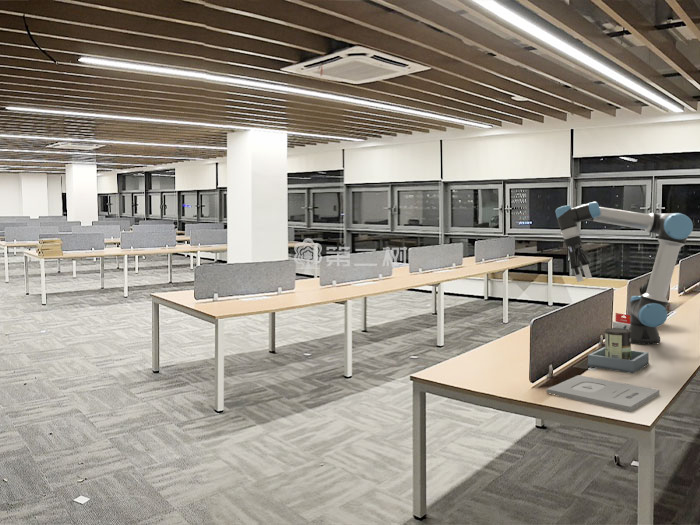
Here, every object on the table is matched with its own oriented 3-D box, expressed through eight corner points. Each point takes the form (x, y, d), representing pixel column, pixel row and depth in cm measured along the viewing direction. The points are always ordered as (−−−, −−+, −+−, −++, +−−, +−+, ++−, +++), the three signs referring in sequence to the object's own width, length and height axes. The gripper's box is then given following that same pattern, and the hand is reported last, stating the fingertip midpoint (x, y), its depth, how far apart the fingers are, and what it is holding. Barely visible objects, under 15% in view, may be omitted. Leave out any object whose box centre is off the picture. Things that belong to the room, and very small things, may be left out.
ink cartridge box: (629, 334, 309) (629, 316, 308) (612, 330, 319) (612, 313, 318) (632, 333, 310) (633, 315, 309) (615, 330, 320) (615, 312, 319)
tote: (604, 357, 262) (604, 346, 262) (648, 364, 249) (648, 352, 249) (588, 366, 249) (588, 354, 248) (633, 373, 236) (633, 361, 236)
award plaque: (630, 413, 192) (630, 406, 192) (546, 394, 214) (546, 389, 214) (659, 395, 209) (659, 389, 209) (578, 380, 231) (578, 375, 231)
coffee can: (627, 360, 253) (627, 327, 252) (634, 366, 243) (634, 332, 242) (602, 359, 255) (602, 327, 254) (607, 365, 245) (607, 332, 244)
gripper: (572, 238, 293) (584, 278, 291) (555, 241, 274) (569, 284, 272) (586, 233, 289) (599, 274, 287) (571, 236, 269) (585, 280, 267)
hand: (584, 279), depth 279 cm, fingers open, 13 cm apart
